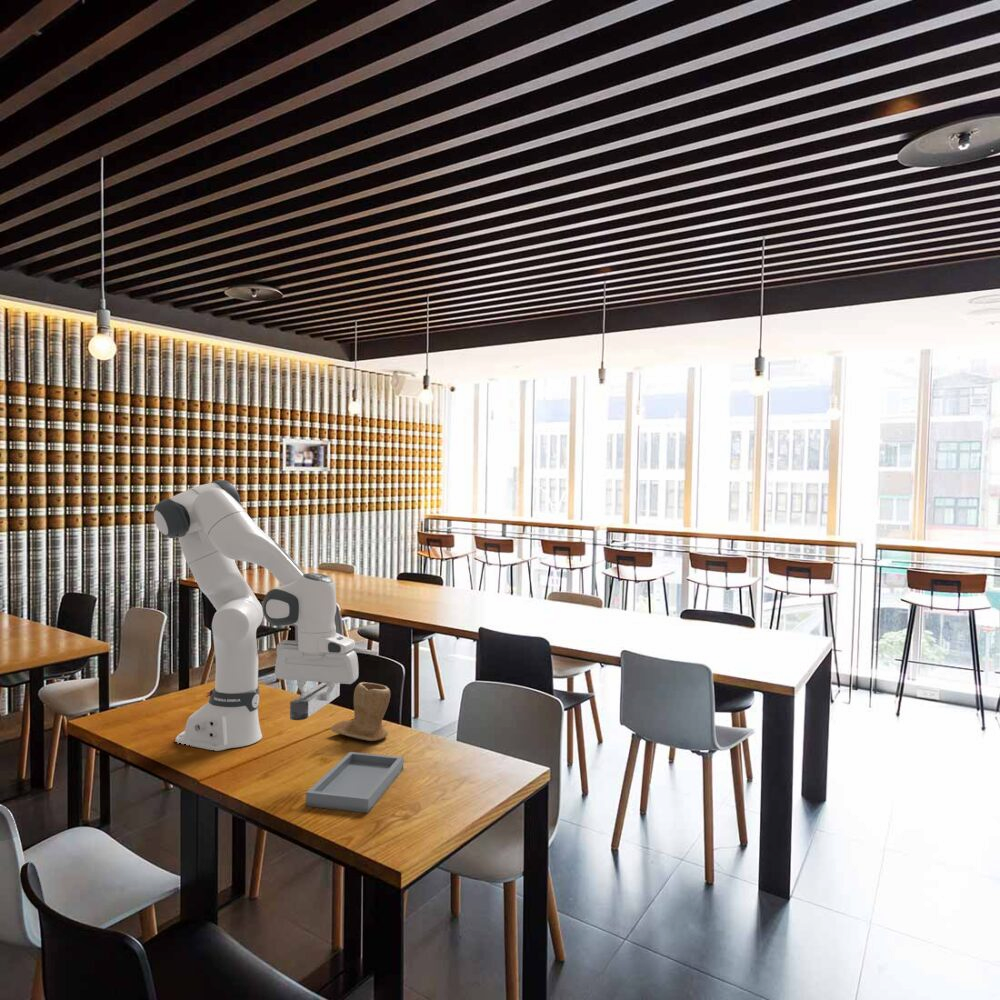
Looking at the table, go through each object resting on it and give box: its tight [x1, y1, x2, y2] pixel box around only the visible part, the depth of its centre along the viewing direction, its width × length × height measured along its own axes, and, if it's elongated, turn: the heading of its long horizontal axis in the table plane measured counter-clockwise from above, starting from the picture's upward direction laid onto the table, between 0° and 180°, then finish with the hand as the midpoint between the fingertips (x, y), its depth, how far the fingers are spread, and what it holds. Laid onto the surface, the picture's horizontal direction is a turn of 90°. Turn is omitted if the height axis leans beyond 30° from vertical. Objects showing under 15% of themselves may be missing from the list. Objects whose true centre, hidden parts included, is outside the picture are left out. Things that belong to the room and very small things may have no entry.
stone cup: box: [330, 681, 391, 742], centre depth 197 cm, size 15×12×15 cm
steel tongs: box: [289, 682, 341, 721], centre depth 165 cm, size 4×20×4 cm, turn 169°
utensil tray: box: [305, 751, 405, 814], centre depth 163 cm, size 14×25×3 cm, turn 170°
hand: (316, 699), depth 165 cm, fingers closed on steel tongs, 4 cm apart
